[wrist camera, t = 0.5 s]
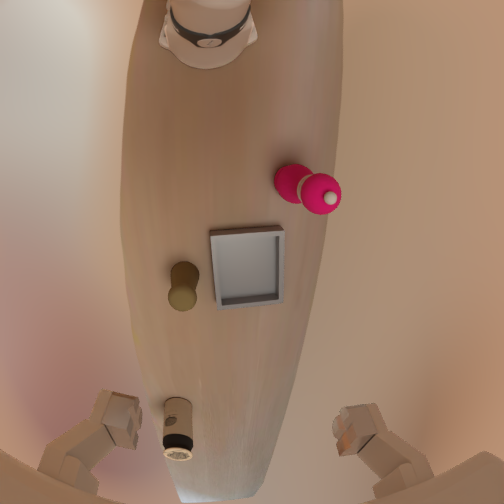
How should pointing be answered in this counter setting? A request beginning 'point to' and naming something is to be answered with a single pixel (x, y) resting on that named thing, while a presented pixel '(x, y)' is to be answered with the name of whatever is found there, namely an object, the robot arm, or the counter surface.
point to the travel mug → (178, 429)
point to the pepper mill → (308, 188)
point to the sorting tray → (248, 266)
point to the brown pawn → (183, 286)
